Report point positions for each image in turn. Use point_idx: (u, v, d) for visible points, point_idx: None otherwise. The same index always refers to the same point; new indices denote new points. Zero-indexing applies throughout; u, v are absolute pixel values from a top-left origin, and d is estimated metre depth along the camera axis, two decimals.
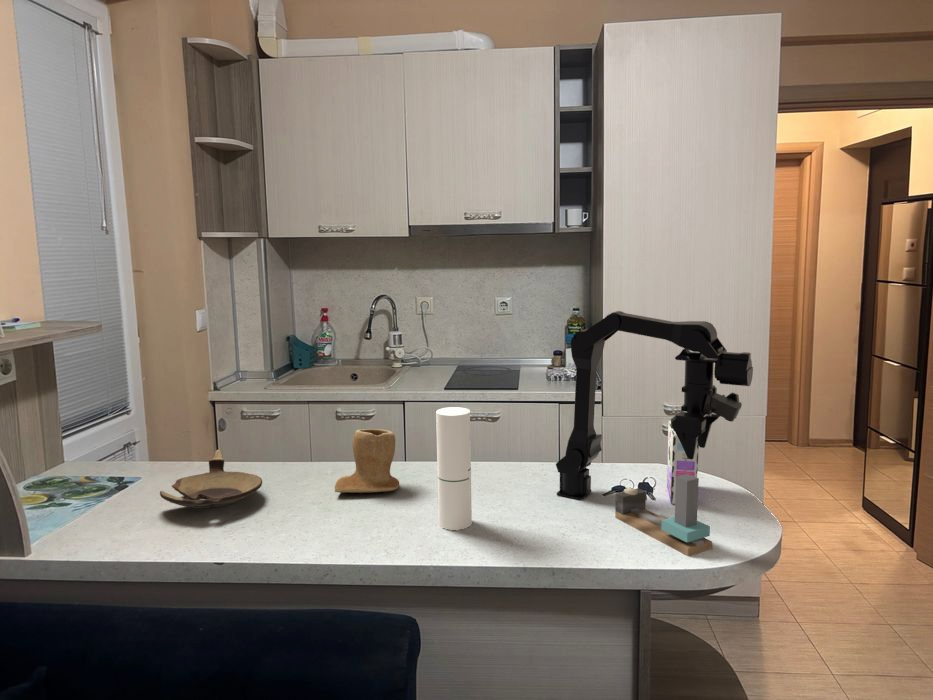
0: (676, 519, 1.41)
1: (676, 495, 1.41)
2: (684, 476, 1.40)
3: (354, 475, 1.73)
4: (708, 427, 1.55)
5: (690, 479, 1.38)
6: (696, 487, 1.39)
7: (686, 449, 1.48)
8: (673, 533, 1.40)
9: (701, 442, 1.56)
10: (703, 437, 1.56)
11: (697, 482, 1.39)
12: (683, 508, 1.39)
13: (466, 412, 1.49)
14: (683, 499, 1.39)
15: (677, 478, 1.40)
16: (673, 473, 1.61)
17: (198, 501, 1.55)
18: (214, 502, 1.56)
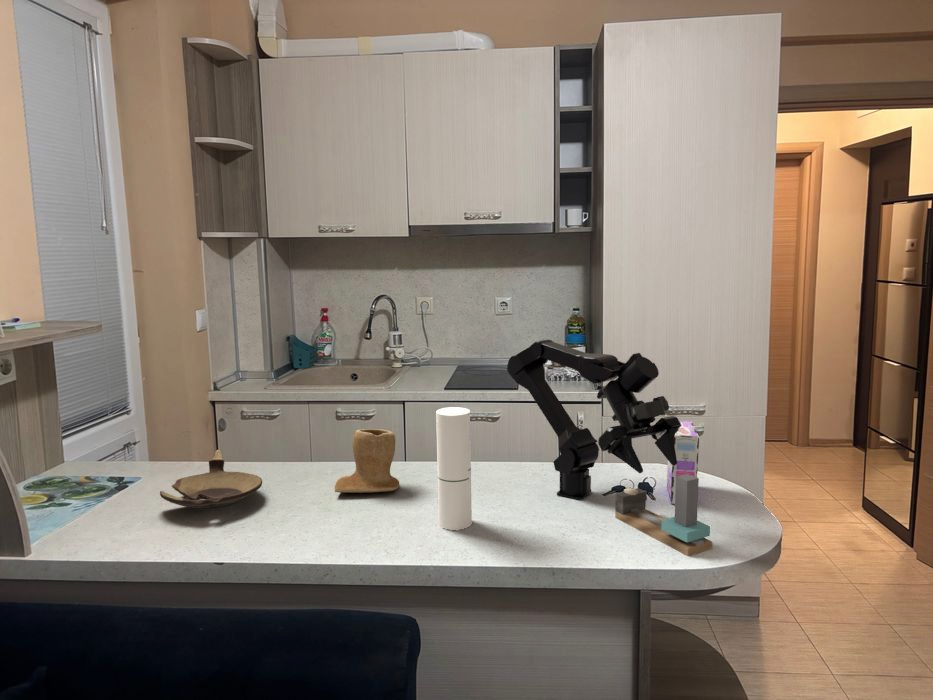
0: (676, 519, 1.41)
1: (676, 495, 1.41)
2: (684, 476, 1.40)
3: (354, 475, 1.73)
4: (668, 442, 1.51)
5: (690, 479, 1.38)
6: (696, 487, 1.39)
7: (631, 465, 1.46)
8: (673, 533, 1.40)
9: (671, 460, 1.50)
10: (670, 454, 1.50)
11: (697, 482, 1.39)
12: (683, 508, 1.39)
13: (466, 412, 1.49)
14: (683, 499, 1.39)
15: (677, 478, 1.40)
16: (673, 473, 1.61)
17: (198, 501, 1.55)
18: (214, 502, 1.56)
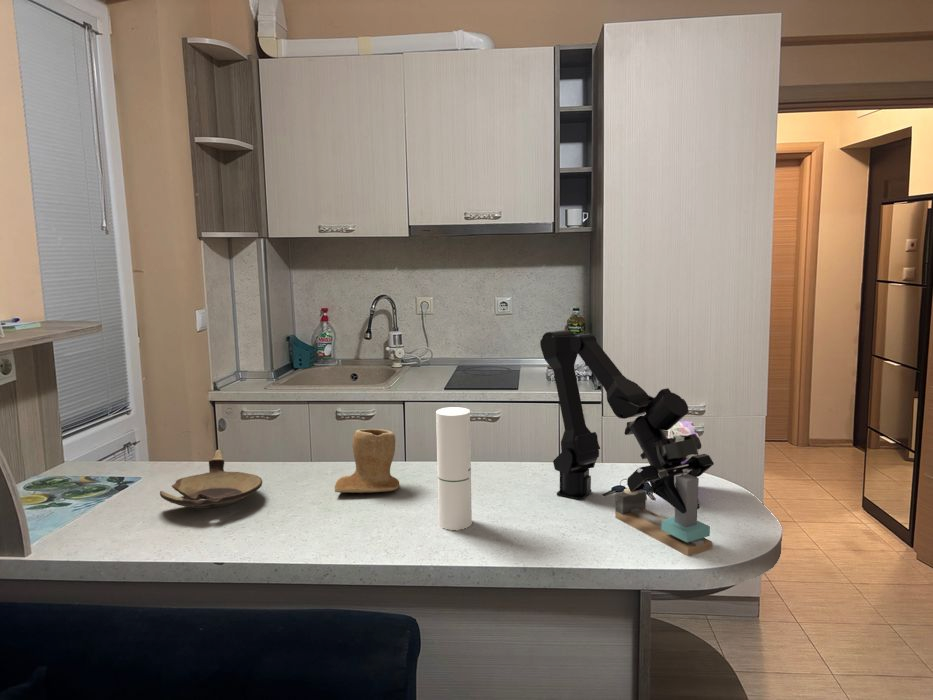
0: (676, 519, 1.41)
1: None
2: (684, 476, 1.40)
3: (354, 475, 1.73)
4: None
5: (690, 479, 1.38)
6: (696, 487, 1.39)
7: (674, 504, 1.40)
8: (673, 533, 1.40)
9: None
10: None
11: (697, 482, 1.39)
12: None
13: (466, 412, 1.49)
14: (683, 499, 1.39)
15: (677, 478, 1.40)
16: None
17: (198, 501, 1.55)
18: (214, 502, 1.56)
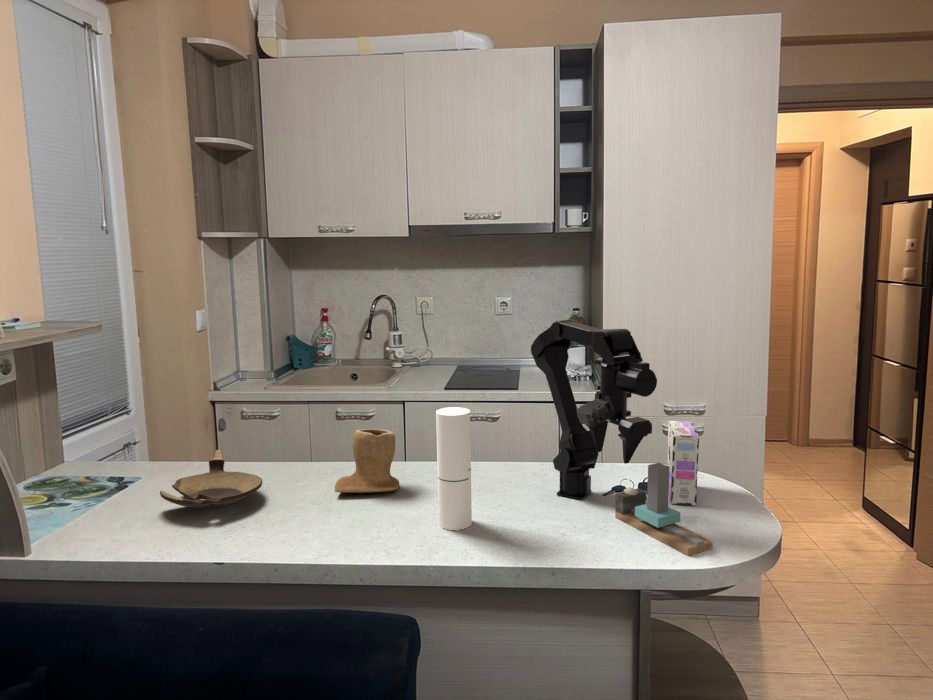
0: (648, 506, 1.48)
1: (648, 483, 1.48)
2: (656, 465, 1.47)
3: (354, 475, 1.73)
4: None
5: (661, 467, 1.45)
6: (667, 475, 1.46)
7: None
8: (645, 519, 1.47)
9: None
10: None
11: (668, 470, 1.46)
12: (654, 495, 1.46)
13: (466, 412, 1.49)
14: (655, 486, 1.46)
15: (649, 466, 1.47)
16: (673, 473, 1.61)
17: (198, 501, 1.55)
18: (214, 502, 1.56)
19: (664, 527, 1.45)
